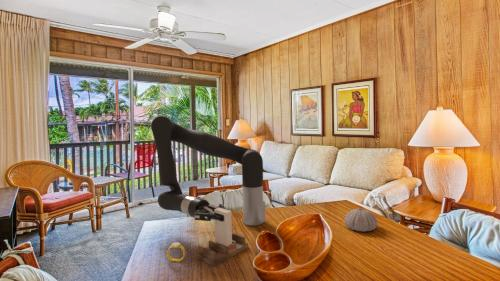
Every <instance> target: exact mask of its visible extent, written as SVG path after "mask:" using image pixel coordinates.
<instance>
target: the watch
mask: <svg viewBox="0 0 500 281" xmlns="http://www.w3.org/2000/svg"><path fill="white" fill-rule="evenodd" d="M172 248H174V249H176V248H180V249H181V251H182V252H183V253H182V254H183V255H182V257H181V258H173V257H172V256H171V255H170V249H172ZM166 256H167V259H168V260H170V261H171V262H178V263H180V262H181V261H183V260H184V258H185V256H186V249H185V247H184V245H181V242H178V241H175V242H173V243H172V244H171V245H170V246H169V247H168V249H167V252H166Z"/></svg>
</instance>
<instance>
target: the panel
mask: <svg viewBox="0 0 500 281" xmlns="http://www.w3.org/2000/svg"><path fill="white" fill-rule="evenodd" d="M214 212H216V213H218V214H221V215H224V221H223V222H222V221H219V220H214V242H217V243H220V244H222V245H224V246H229V245H231V244H232V232H233V227H232V225H233V224H232V223H233V221H232V219H233V218H232V210H230V209H227V208H226V209H223V208H220V207H219V208H217V209H214Z"/></svg>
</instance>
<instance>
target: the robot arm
mask: <svg viewBox="0 0 500 281" xmlns="http://www.w3.org/2000/svg"><path fill="white" fill-rule="evenodd" d="M150 128H151V129H150V130H151V133H152V136H153V140H154V143H155V148H156V154H157V162H158V172H159V174H158V175H159V182H160V185H161V186H163V187H169V189H170V190H168V191H163V192H162V193H160V194H159V195H158V197H157V204H158V206H159V207H160V208H161V209H163V210H164V211H165V210H166V211H177V212H180V213H183V214H185V215H186V216H189V217H192V218H194V220H195V221H203V222H210V221H211V220H213V221H215V220H219V221H222V222H223V221H224V215H221V214H218V213H216V212H214V209H217V208H219V207H220V208H223V209H226V210H227V208H226V206H224V205H223V204H222V203H219V204H218V206H215V205H213V204H210V202H209V201H208V200H207V199H204V198H200V197H197V196H193V195H192V196H191V195H188V194H183V191H182V188H181V187H180V184H179V181H178V176H177V174H178V173H177V167H176V162H175V158H174V154H173V149H172V141H173V142H174V143H175V142H176V143H180V144H182V145H184V146H186V147H188V148H190V149H192V150H194V151H197V152H199V153H202V154H205V155H207V156H210V157H214V158H220V159H226V160H230V161H233V162H235V163H238V164H239V165H241V173H242V175H241V176H242V177H241V178H242V179H241V180H242V182H241V183H242V185H241V186H242V214H243V216H242V218H243V220H242V221H243V224H244V225H246V226H252V227H255V226H260V225H262V224H263V223H266V202H265V201H264V183H263V182H264V160H263V156H262V155H261V153H260V152H259V151H258V150H256V149H252V148H248V147H243V146H239V145H236V144H234V143H232V142H230V141H228V140H226V139H223V138H221V137H218V136H216V135H213V134H212V133H210V132H209V133H208V132H205V131H201V130H197V129H190V128H187V127H183V126H182V125H180V124H177V123H176V122H174V121H172V120H171V119H170V118H169V117H167V116H165V115H158V116H156V117H154V118H153V119H152V121H151V124H150Z"/></svg>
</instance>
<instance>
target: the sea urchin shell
mask: <svg viewBox="0 0 500 281" xmlns="http://www.w3.org/2000/svg"><path fill="white" fill-rule="evenodd" d="M344 224H345V226H347V228H348V229H350V230H352V231H357V232H370V231H373V230H376V229H377V227H378V219H377V218H376V216H375V215H374V214H373V213H372V212H371V211H369V210H367V209H363V208H354V209H352V210H350V211H348V212H347V213H346V214H345V216H344Z"/></svg>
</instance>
